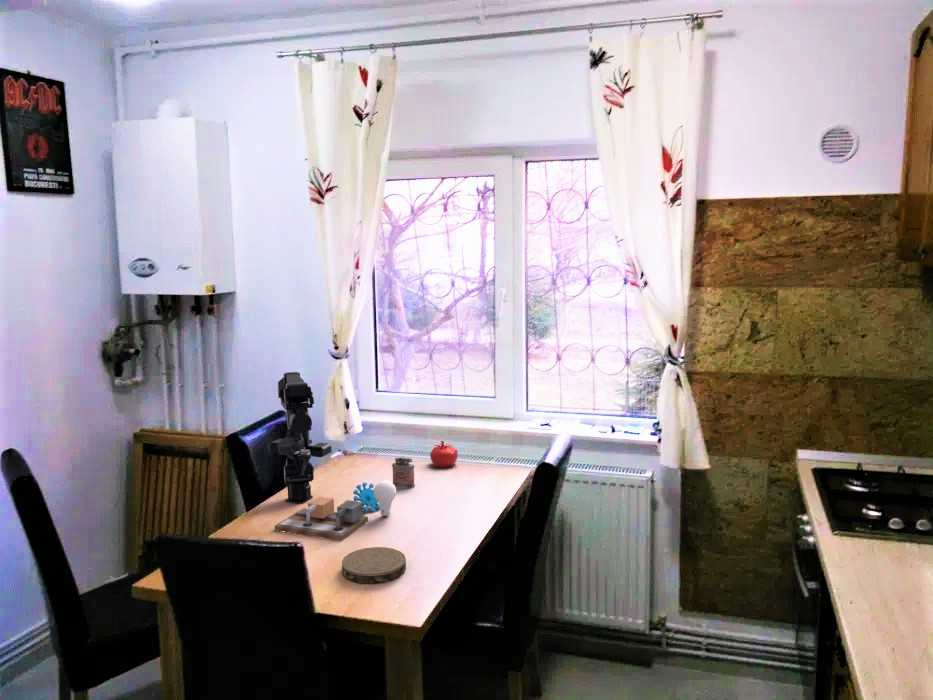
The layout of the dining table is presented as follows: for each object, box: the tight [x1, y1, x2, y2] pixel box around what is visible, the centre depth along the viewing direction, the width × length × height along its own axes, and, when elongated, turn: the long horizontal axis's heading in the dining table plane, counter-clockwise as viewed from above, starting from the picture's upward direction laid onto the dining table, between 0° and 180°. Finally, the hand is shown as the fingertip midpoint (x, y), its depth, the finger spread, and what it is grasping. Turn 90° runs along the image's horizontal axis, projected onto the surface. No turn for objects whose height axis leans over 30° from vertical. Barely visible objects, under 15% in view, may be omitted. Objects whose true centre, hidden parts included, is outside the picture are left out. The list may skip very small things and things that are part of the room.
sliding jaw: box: [306, 496, 335, 525], centre depth 217 cm, size 5×10×4 cm, turn 159°
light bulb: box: [373, 479, 397, 517], centre depth 223 cm, size 7×7×11 cm
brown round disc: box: [341, 546, 407, 586], centre depth 187 cm, size 16×16×3 cm
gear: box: [352, 482, 381, 513], centre depth 231 cm, size 11×6×10 cm
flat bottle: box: [391, 456, 416, 489], centre depth 250 cm, size 8×3×10 cm, turn 68°
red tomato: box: [429, 440, 459, 468], centre depth 273 cm, size 10×10×9 cm
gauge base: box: [274, 499, 369, 542], centre depth 216 cm, size 22×15×7 cm
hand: (301, 475), depth 225 cm, fingers closed
